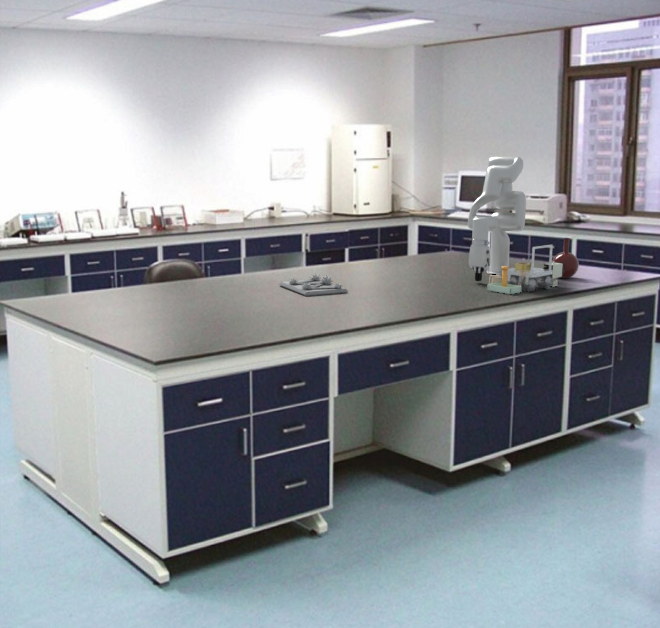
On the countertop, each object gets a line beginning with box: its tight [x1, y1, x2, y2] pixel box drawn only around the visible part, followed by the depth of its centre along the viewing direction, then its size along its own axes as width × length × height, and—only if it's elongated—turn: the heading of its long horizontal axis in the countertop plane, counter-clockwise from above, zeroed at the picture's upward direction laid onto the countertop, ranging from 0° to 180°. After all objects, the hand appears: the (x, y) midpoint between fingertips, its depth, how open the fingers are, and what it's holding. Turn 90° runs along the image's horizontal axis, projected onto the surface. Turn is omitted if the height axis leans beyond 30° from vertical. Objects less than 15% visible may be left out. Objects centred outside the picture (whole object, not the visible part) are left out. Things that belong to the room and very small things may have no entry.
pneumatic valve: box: [542, 261, 564, 288], centre depth 418 cm, size 6×12×12 cm, turn 131°
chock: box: [488, 274, 502, 284], centre depth 420 cm, size 8×5×4 cm, turn 1°
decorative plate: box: [278, 272, 349, 297], centre depth 405 cm, size 30×22×7 cm
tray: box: [486, 282, 523, 295], centre depth 404 cm, size 13×8×3 cm, turn 42°
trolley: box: [507, 244, 554, 293], centre depth 411 cm, size 17×16×21 cm
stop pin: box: [501, 266, 510, 287], centre depth 403 cm, size 3×3×11 cm
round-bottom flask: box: [552, 237, 580, 279], centre depth 441 cm, size 13×13×20 cm
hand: (478, 280), depth 426 cm, fingers closed
